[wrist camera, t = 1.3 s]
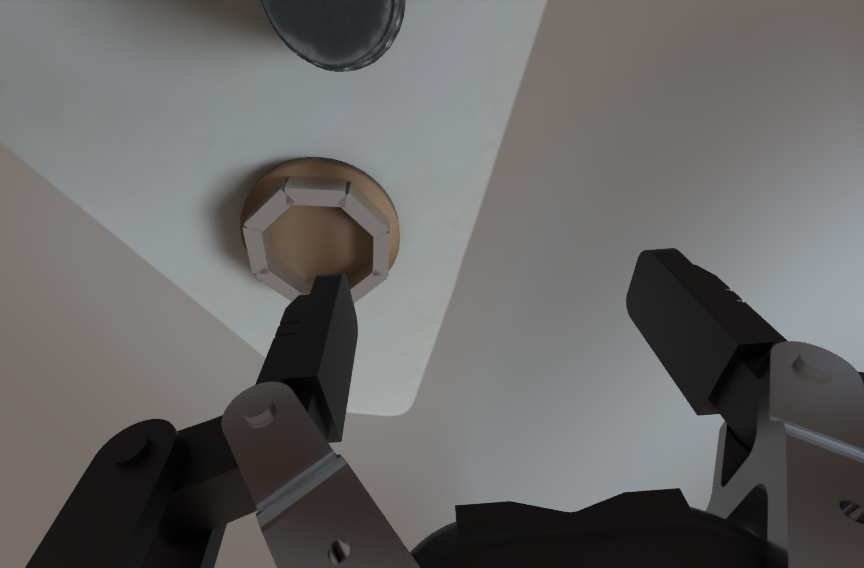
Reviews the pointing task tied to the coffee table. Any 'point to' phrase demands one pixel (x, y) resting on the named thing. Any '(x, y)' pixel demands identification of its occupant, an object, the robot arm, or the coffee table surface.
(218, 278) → the coffee table surface
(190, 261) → the coffee table surface
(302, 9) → the pill bottle
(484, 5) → the coffee table surface
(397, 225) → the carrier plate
